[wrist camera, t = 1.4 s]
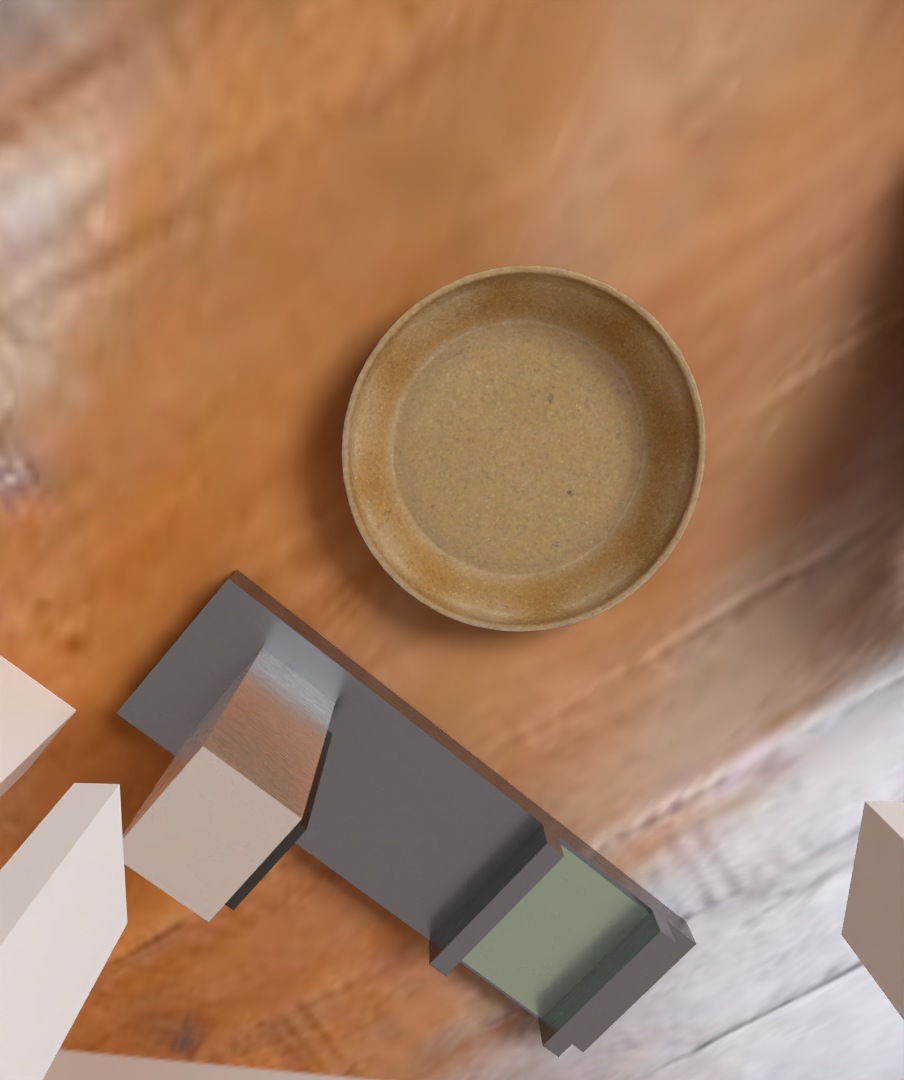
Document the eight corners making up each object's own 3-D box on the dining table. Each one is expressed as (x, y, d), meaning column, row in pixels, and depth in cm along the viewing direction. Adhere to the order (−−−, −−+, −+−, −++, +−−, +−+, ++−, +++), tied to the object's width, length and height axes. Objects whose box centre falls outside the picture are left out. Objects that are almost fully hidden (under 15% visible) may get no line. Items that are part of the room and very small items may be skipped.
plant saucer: (383, 237, 32) (379, 226, 29) (726, 315, 33) (751, 310, 30) (321, 579, 35) (312, 595, 32) (637, 640, 36) (653, 661, 33)
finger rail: (129, 699, 35) (5, 833, 25) (236, 569, 34) (153, 654, 24) (577, 1026, 40) (628, 1254, 29) (686, 922, 39) (778, 1121, 28)
